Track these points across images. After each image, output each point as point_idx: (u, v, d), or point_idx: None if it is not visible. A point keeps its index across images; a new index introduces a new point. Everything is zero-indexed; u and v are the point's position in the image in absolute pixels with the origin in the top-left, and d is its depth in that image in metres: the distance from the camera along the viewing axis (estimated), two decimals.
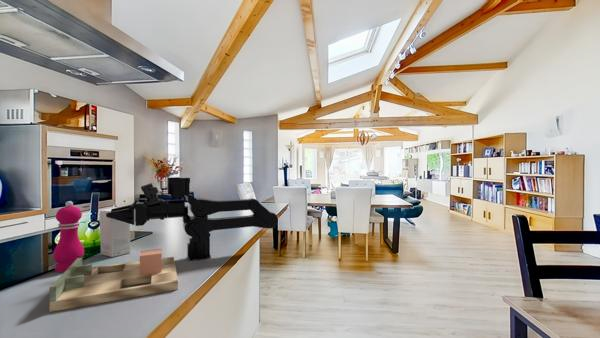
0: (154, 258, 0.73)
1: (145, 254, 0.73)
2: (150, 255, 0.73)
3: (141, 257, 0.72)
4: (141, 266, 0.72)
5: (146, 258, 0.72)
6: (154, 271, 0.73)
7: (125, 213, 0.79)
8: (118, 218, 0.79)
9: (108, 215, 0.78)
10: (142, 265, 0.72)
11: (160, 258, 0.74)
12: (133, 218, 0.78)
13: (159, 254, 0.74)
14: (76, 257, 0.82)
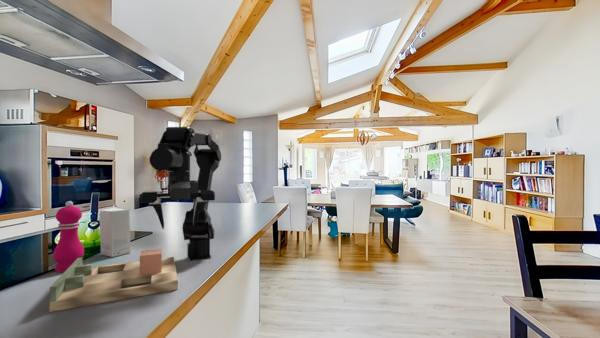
0: (154, 258, 0.73)
1: (145, 254, 0.73)
2: (150, 255, 0.73)
3: (141, 257, 0.72)
4: (141, 266, 0.72)
5: (146, 258, 0.72)
6: (154, 271, 0.73)
7: None
8: None
9: (194, 224, 0.80)
10: (142, 265, 0.72)
11: (160, 258, 0.74)
12: None
13: (159, 254, 0.74)
14: (76, 257, 0.82)
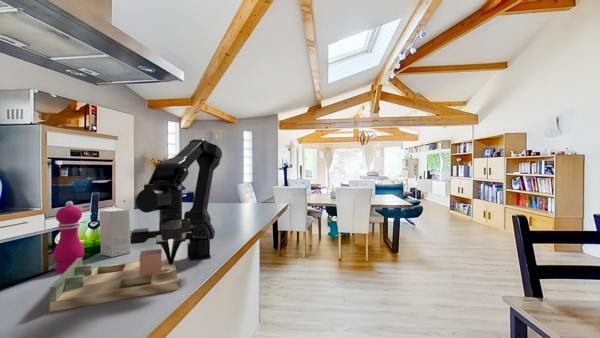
0: (154, 258, 0.73)
1: (145, 254, 0.73)
2: (150, 255, 0.73)
3: (141, 257, 0.72)
4: (141, 266, 0.72)
5: (146, 258, 0.72)
6: (154, 271, 0.73)
7: None
8: None
9: None
10: (142, 265, 0.72)
11: (160, 258, 0.74)
12: None
13: (159, 254, 0.74)
14: (76, 257, 0.82)
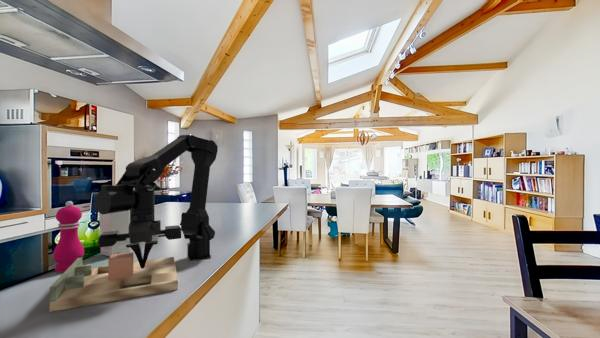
0: (124, 262, 0.70)
1: (114, 258, 0.70)
2: (120, 259, 0.70)
3: (110, 261, 0.69)
4: (110, 270, 0.69)
5: (115, 262, 0.69)
6: (124, 275, 0.70)
7: None
8: None
9: None
10: (111, 269, 0.69)
11: (131, 262, 0.71)
12: (157, 239, 0.77)
13: (129, 258, 0.71)
14: (76, 257, 0.82)
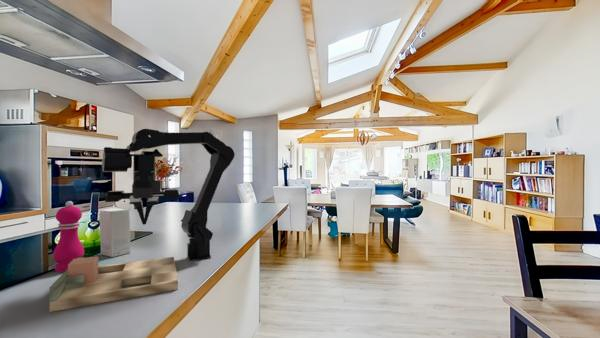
0: (85, 267, 0.66)
1: (75, 263, 0.66)
2: (81, 264, 0.66)
3: (70, 266, 0.65)
4: (70, 276, 0.65)
5: (76, 267, 0.66)
6: (85, 281, 0.66)
7: None
8: None
9: (145, 222, 0.83)
10: (71, 275, 0.65)
11: (93, 267, 0.67)
12: None
13: (91, 262, 0.67)
14: (76, 257, 0.82)
